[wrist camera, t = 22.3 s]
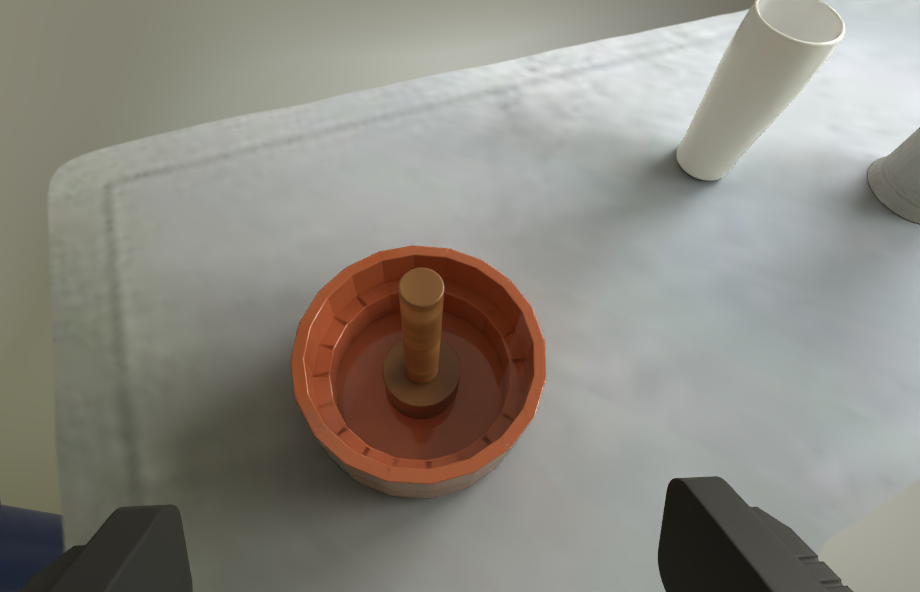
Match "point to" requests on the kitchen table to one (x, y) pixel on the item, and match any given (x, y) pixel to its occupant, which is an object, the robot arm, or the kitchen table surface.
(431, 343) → the wooden knob stand
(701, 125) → the drinking glass
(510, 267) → the kitchen table surface
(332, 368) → the bowl
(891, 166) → the pitcher
